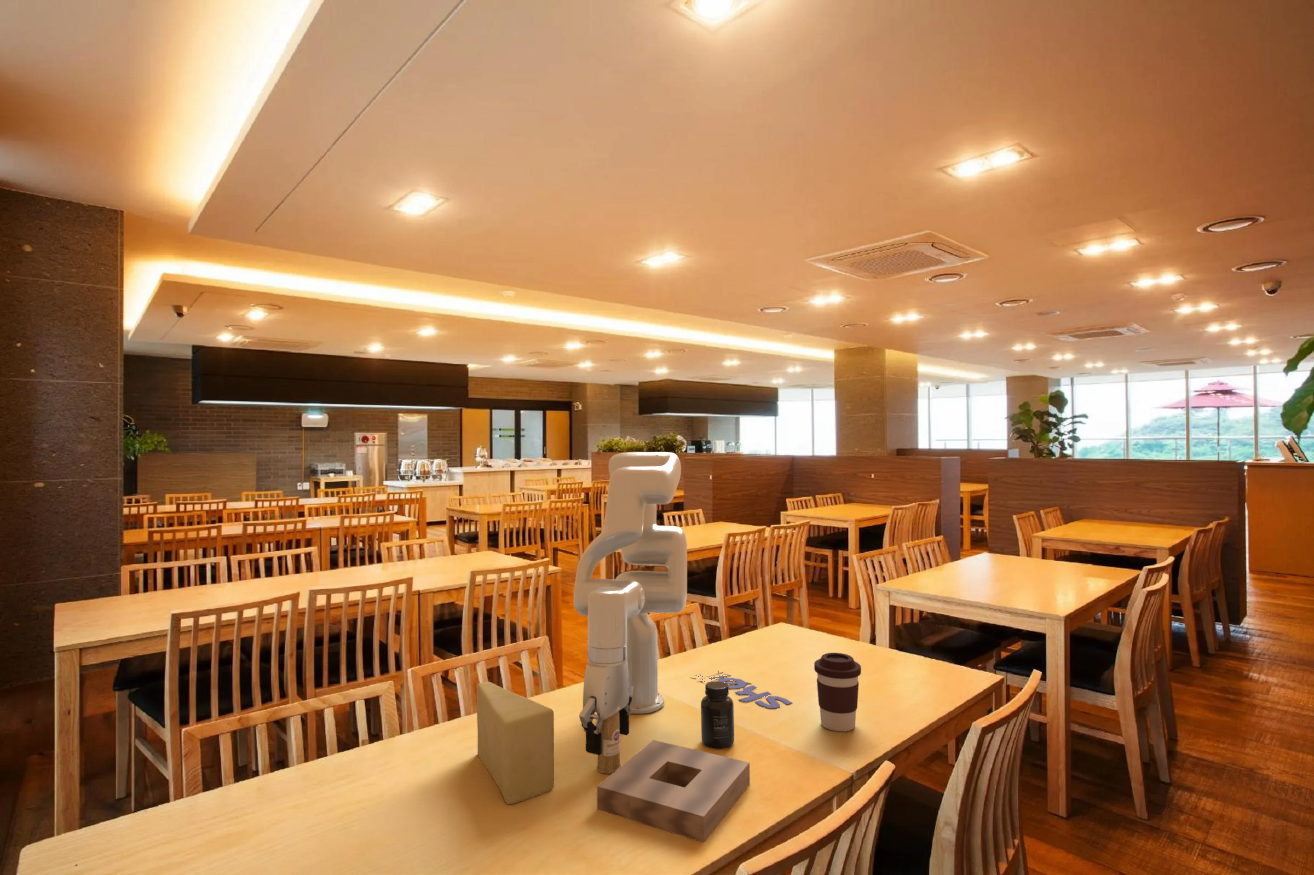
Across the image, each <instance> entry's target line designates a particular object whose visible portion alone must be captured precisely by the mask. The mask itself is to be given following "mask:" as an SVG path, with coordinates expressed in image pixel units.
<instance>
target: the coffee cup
mask: <svg viewBox="0 0 1314 875" xmlns="http://www.w3.org/2000/svg"><path fill="white" fill-rule="evenodd" d="M813 664H814V666H813V670H814V672H815V673H816V674H817V678H816V687H817V688H816V690H817V699H818V700H817V701H818V707H819V714H820V723H821V725H822V726H823V727H824V728H825V729H827V730H830V731H834V732H840V733H843V732H844V733H845V732H851V731H852V730H853V729H855V726H856V720H857V719H856V717H857V716H856V715H857V709H858V701H859V685H860V684H859V682H860V681H859V677H860V676H861V674H862V665H861V664H860V663H859V662H857V661H855V659H854V658H853V656H851V655H849V654H846V653H841V652H828V653H827V652H826V653H823V654H822V655H821V657H820V658H819V659H816V660H815V661H814V663H813Z"/></svg>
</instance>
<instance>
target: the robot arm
mask: <svg viewBox="0 0 1314 875" xmlns="http://www.w3.org/2000/svg"><path fill="white" fill-rule="evenodd" d="M608 472H609V481H608V487H607V488H608V489H607V498H606V505H605V511H604V512H605V513H604V514H605V515H604V522H603V529H602V531H601V533H599V535H598V536H596V537H595V538H594V539H593V540H592V541H591V542H590V543H589V545H588V546H587V547H586V549H585V550H584V551H583V554H582V555H581V556H580V559H579V561H578V564H577V568H576V572H575V574H576V575H575V580H574V587H573V605H574V609H575V611H576V612H577V614H579V615H581V616H584V617H587V662H588V663H586V666H585V667H586V668H585V671H584V672H585V673H584V680H583V691H582V692H583V693H582V710H581V711H580V712H579V715H578V717H579V720H580V722H581V723H580V725H581V727H582V728H583V731H584V733H585V752H586V753H588V754H592V755H596V756H598V755H600V754H601V753H602V733H601V732H599V731H600V728H601V725H602V723H603V720H605V719H607V718H609V717H610V716H612V715H613V714H615V713H616V712H618V711H619V731H620V732H619V734H620V735H623V736H629V734H630V714H631V715H643V714H649V713H653V712H656V711H658V710H661V708H663V707H664V706H665V697H664V696H663V695H662V694H660V693H659V692H658V690H659V689H658V682H659V679H658V676H659V673H658V670H659V669H658V668H659V666H658V630H657V626H656V624H655V622H654V621H653V619H652V617H651V616H650V615H649V614H650V613H662V614H663V613H664V614H666V613H667V614H668V613H669V614H671V613H672V614H674V613H675V614H677V613H680V612H682V611H683V610H684V609H685V608H686V604H687V598H688V544H687V537H686V532H684V530H683V529H682V528H681V527H679V526H675V525H658V524H657V505H668V504H670V503H671V502H672V501H673V499H674V497H675V496H676V495H675V494H676V491H677V488H678V486H679V484H680V479H681V474H682V465H681V460H680V459H679V456H678V455H677V454H676V453H674V452H668V451H667V452H666V451H659V452H658V451H654V452H653V451H651V452H649V451H646V452H645V451H631V452H629V451H627V452H621V453H615V454H613V456H611V457H610V458H609V461H608ZM619 550H620V553H621V554H620V555H621V558H622V559H623V562H625V563H626V564H628V565H633V566H656V567H657V566H660V567H661V566H662V567H666V568H667V571H657V570H656V571H654V570H628V571H625V572H621V573H619V574H618V575H617V576H616V578H613V579H612V578H611V579H610V578H592V577H593V574H594V573H593V572H594V570H595V569H596V567H597V565H598V564H599V563H600V562H601V561H602V560H603V559H605V558H606V557H608V556H609V555H610V554H613V553H615V552H617V551H619ZM618 706H619V707H620V709H619V710H618V711H616V710H617V707H618ZM597 713H600V715H597ZM594 720H596V723H595V724H594V722H593V721H594Z"/></svg>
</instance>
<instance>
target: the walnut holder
mask: <svg viewBox="0 0 1314 875" xmlns="http://www.w3.org/2000/svg"><path fill="white" fill-rule="evenodd" d="M750 764H751V763H750V762H748V761H744V760H742V759H741V760H740V759H736V758H732V757H729V756H724V755H718V754H715V753H710V752H706V751H702V750H698V749H694V748H689V747H684V746H681V745H677V744H672V743H667V742H664V741H658V740H655V739H653V740H652V741H651V742H649V743H648V744H647V745H645V746H644V747H643V748H641V750H639V751H638V752H637V753H636V754H634V755H633V756H632V757H631V758H630V759H628V760H627V761H626V762H625V763H624V764H622V765H620V768H619V769H617V770H616V771H615V772H614V773H610V774H609V776H607V777H606V778H604V780H603V781H601V782H600V783H599V784H597V786H596V810H597V811H601V812H604V813H607V814H611V815H614V816H617V817H620V818H622V819H627V820H630V821H633V822H637V823H640V824H643V825H647V826H650V827H653V828H656V829H659V830H663V831H667V832H668V833H669V832H670V833H673V834H676V835H680V836H683V837H686V838H689V839H692V840H695V839H696V841H698V840H699V842H702V843H705V842H706V840H707V839H708V838H709V837H710V835H711V834H712V833H713V831H714V830H715V829H716V828H717V826H718V825H719V824H720V823H721V821H722V820H723V818H725V816H726V815H727V814H728V812H729V811H730V810H731V808H733V806H735V804H736V803H737V801H738V800H739V799H740V797H741V796H742V795H743V794H744V792H745V791H746V790H747V789H748V788H749V786H750V785H751V784H750V783H751V782H750V780H751V777H750V776H751V775H750V774H751V773H750V772H751V770H750V767H751V766H750Z"/></svg>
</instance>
